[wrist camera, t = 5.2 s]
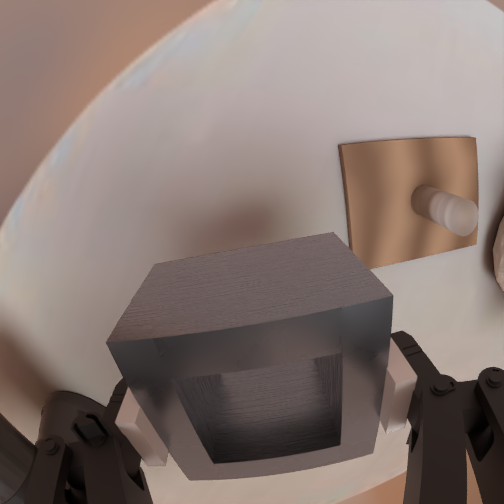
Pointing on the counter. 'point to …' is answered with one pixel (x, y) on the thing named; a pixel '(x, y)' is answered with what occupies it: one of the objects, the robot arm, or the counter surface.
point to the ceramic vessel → (499, 255)
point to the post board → (410, 197)
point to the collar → (259, 357)
